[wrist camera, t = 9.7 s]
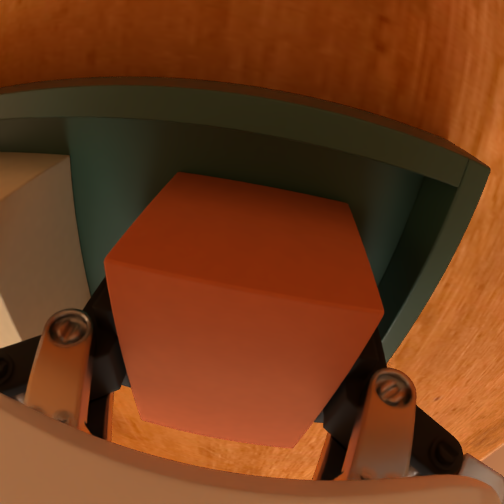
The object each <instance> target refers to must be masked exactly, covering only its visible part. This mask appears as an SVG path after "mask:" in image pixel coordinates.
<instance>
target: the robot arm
mask: <svg viewBox="0 0 504 504" xmlns="http://www.w3.org/2000/svg"><path fill="white" fill-rule="evenodd" d="M121 385H124V386H127V387H130V388H131V385H130V382H129V378H128V375H127V371H126V367H125V364H124V360H123V356H122V352H121V348H120V344H119V340H118V335H117V331H116V326H115V322H114V317H113V312H112V307H111V302H110V297H109V291H108V286H107V280H106V276H105V277H104V279H103V280H102V282H101V283H100V285H99V286H98V288H97V289H96V290H95V292H94V293H93V295H92V296H91V298H90V299H89V301H88V302H87V304H86V305H85V307H84V308H83V310H80V309H75V308H68V309H63V310H60V311H58V312H56V313H54V314H53V315H52V316H51V317H50V318H49V319H48V320H47V322H46V324H45V326H44V329H43V332H42V335H39V336H36V337H33V338H30V339H27V340H24V341H21V342H18V343H15V344H12V345H9V346H6V347H3V348H0V504H504V477H503V476H502V475H501V474H499V473H498V472H496V471H494V470H493V469H491V468H490V467H488V466H487V465H485V464H484V463H482V462H481V461H479V460H477V459H476V458H474V457H473V456H471V455H470V454H468V453H466V454H465V455H463V452H462V447H461V445H460V443H459V442H458V441H457V439H456V438H455V437H454V436H452V435H451V434H450V433H449V432H448V431H446V430H445V429H444V428H443V427H442V426H440V425H439V424H438V423H437V422H436V421H434V420H433V419H432V418H431V417H430V416H429V415H427V414H426V413H425V412H424V411H423V410H421V409H420V408H419V407H418V406H417V405H416V388H415V386H414V384H413V382H412V381H411V379H410V378H409V377H408V376H407V375H406V374H404V373H403V372H401V371H399V370H397V369H393V368H387V364H386V360H385V355H384V350H383V346H382V342H381V337H380V333H379V329H378V326H377V328H376V329H375V331H374V333H373V334H372V336H371V338H370V339H369V341H368V343H367V344H366V346H365V348H364V349H363V351H362V352H361V354H360V356H359V357H358V359H357V360H356V362H355V363H354V365H353V366H352V368H351V370H350V371H349V373H348V374H347V376H346V377H345V379H344V380H343V382H342V383H341V384H340V386H339V387H338V389H337V390H336V392H335V393H334V395H333V396H332V397H331V399H330V400H329V402H328V403H327V404H326V406H325V407H324V409H323V410H322V411H321V413H320V414H319V415H318V417H317V418H316V419H315V421H314V422H318V423H323V428H325V429H326V430H327V431H328V433H327V436H326V440H325V443H324V446H323V449H322V452H321V455H320V458H319V461H318V464H317V467H316V470H315V472H314V475H313V478H312V480H297V479H282V478H271V477H262V476H253V475H245V474H238V473H232V472H225V471H219V470H214V469H209V468H203V467H199V466H194V465H189V464H185V463H181V462H176V461H172V460H168V459H165V458H161V457H157V456H153V455H150V454H147V453H143V452H140V451H136V450H133V449H130V448H127V447H124V446H121V445H118V444H115V443H112V442H111V441H112V416H113V400H114V391H116V390H119V389H120V387H121Z"/></svg>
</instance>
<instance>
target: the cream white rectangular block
mask: <svg viewBox="0 0 504 504" xmlns="http://www.w3.org/2000/svg"><path fill="white" fill-rule="evenodd" d="M90 298H91V296H90V292H89V287H88V283H87V278H86V273H85V268H84V263H83V258H82V253H81V247H80V241H79V235H78V228H77V221H76V214H75V206H74V198H73V189H72V178H71V166H70V156H69V155H58V154H42V153H21V152H0V348H3V347H6V346H9V345H12V344H15V343H18V342H21V341H24V340H27V339H30V338H33V337H36V336H39V335H42V332H43V329H44V326H45V324H46V322H47V320H48V319H49V318H50V317H51V316H52V315H53V314H54V313H56V312H58V311H60V310H63V309H68V308H75V309H80V310H83V308H84V307H85V305H86V304H87V302H88V301H89V299H90Z"/></svg>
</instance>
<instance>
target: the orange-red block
mask: <svg viewBox="0 0 504 504" xmlns="http://www.w3.org/2000/svg"><path fill="white" fill-rule="evenodd" d="M104 267H105V274H106V280H107V286H108V291H109V297H110V302H111V307H112V312H113V317H114V322H115V326H116V331H117V335H118V340H119V344H120V348H121V352H122V356H123V360H124V364H125V367H126V371H127V375H128V378H129V382H130V385H131V389H132V392H133V395H134V399H135V402H136V405H137V408H138V411H139V415H140V418H141V420H143V421H147V422H150V423H154V424H158V425H161V426H165V427H169V428H173V429H177V430H181V431H185V432H190V433H194V434H199V435H204V436H209V437H214V438H219V439H224V440H230V441H236V442H243V443H249V444H257V445H264V446H273V447H283V448H293V447H294V446H295V445H296V444H297V442H298V441H299V440H300V439H301V437H302V436H303V435H304V434H305V432H306V431H307V430H308V429H309V427H310V426H311V425H312V423H313V422H314V421H315V419H316V418H317V417H318V415H319V414H320V413H321V411H322V410H323V409H324V407H325V406H326V404H327V403H328V402H329V400H330V399H331V397H332V396H333V395H334V393H335V392H336V390H337V389H338V387H339V386H340V384H341V383H342V382H343V380H344V379H345V377H346V376H347V374H348V373H349V371H350V370H351V368H352V366H353V365H354V363H355V362H356V360H357V359H358V357H359V356H360V354H361V352H362V351H363V349H364V348H365V346H366V344H367V343H368V341H369V339H370V338H371V336H372V334H373V333H374V331H375V329H376V328H377V326H378V324H379V322H380V321H381V319H382V317H383V315H384V308H383V305H382V301H381V298H380V295H379V291H378V288H377V285H376V282H375V279H374V275H373V272H372V269H371V266H370V263H369V260H368V257H367V254H366V251H365V248H364V246H363V243H362V240H361V237H360V234H359V231H358V229H357V226H356V223H355V221H354V218H353V215H352V213H351V210H350V207H349V205H348V204H347V203H344V202H340V201H336V200H331V199H327V198H322V197H317V196H313V195H308V194H303V193H298V192H293V191H288V190H283V189H278V188H273V187H268V186H263V185H257V184H252V183H246V182H241V181H235V180H229V179H223V178H217V177H211V176H204V175H198V174H191V173H185V172H177V174H176V175H175V176H174V177H173V178H172V179H171V180H170V181H169V182H168V183H167V184H166V186H165V187H164V188H163V189H162V190H161V191H160V192H159V193H158V195H157V196H156V197H155V198H154V199H153V200H152V201H151V203H150V204H149V205H148V206H147V207H146V208H145V209H144V211H143V212H142V213H141V214H140V215H139V216H138V218H137V219H136V220H135V221H134V222H133V224H132V225H131V226H130V227H129V228H128V230H127V231H126V232H125V233H124V235H123V236H122V237H121V238H120V239H119V241H118V242H117V243H116V244H115V246H114V247H113V248H112V250H111V251H110V252H109V253H108V255H107V256H106V257H105V259H104Z"/></svg>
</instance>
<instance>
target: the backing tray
mask: <svg viewBox="0 0 504 504" xmlns="http://www.w3.org/2000/svg"><path fill="white" fill-rule="evenodd" d="M0 152H21V153H42V154H58V155H69V156H70V166H71V178H72V189H73V198H74V206H75V214H76V221H77V228H78V235H79V241H80V247H81V253H82V258H83V263H84V268H85V273H86V278H87V283H88V287H89V292H90V296H92V295H93V293H94V292H95V290H96V289H97V288H98V286H99V285H100V283H101V282H102V280H103V279H104V277H105V276H106V274H105V267H104V259H105V257H106V256H107V255H108V253H109V252H110V251H111V250H112V248H113V247H114V246H115V244H116V243H117V242H118V241H119V239H120V238H121V237H122V236H123V235H124V233H125V232H126V231H127V230H128V228H129V227H130V226H131V225H132V224H133V222H134V221H135V220H136V219H137V218H138V216H139V215H140V214H141V213H142V212H143V211H144V209H145V208H146V207H147V206H148V205H149V204H150V203H151V201H152V200H153V199H154V198H155V197H156V196H157V195H158V193H159V192H160V191H161V190H162V189H163V188H164V187H165V186H166V184H167V183H168V182H169V181H170V180H171V179H172V178H173V177H174V176H175V175H176V174H177V172H185V173H191V174H198V175H204V176H211V177H217V178H223V179H229V180H235V181H241V182H246V183H252V184H257V185H263V186H268V187H273V188H278V189H283V190H288V191H293V192H298V193H303V194H308V195H313V196H317V197H322V198H327V199H331V200H336V201H340V202H344V203H347V204H348V205H349V207H350V210H351V213H352V215H353V218H354V221H355V223H356V226H357V229H358V231H359V234H360V237H361V240H362V243H363V246H364V248H365V251H366V254H367V257H368V260H369V263H370V266H371V269H372V272H373V275H374V279H375V282H376V285H377V288H378V291H379V295H380V298H381V301H382V305H383V308H384V315H383V317H382V319H381V321H380V322H379V324H378V329H379V333H380V337H381V342H382V346H383V350H384V355H385V360H386V364H387V362H388V361H389V359H390V358H391V357H392V355H393V354H394V352H395V351H396V350H397V348H398V347H399V345H400V344H401V342H402V341H403V339H404V338H405V337H406V335H407V334H408V332H409V331H410V329H411V327H412V326H413V324H414V323H415V321H416V320H417V318H418V317H419V315H420V313H421V312H422V310H423V309H424V307H425V305H426V304H427V302H428V300H429V299H430V297H431V295H432V294H433V292H434V290H435V288H436V287H437V285H438V283H439V281H440V280H441V278H442V276H443V274H444V272H445V271H446V269H447V267H448V265H449V263H450V261H451V259H452V257H453V255H454V253H455V251H456V249H457V247H458V245H459V243H460V241H461V239H462V237H463V235H464V233H465V231H466V229H467V227H468V224H469V222H470V220H471V218H472V216H473V213H474V211H475V209H476V206H477V204H478V202H479V199H480V197H481V194H482V192H483V189H484V187H485V184H486V182H487V179H488V176H489V174H490V170H491V169H490V168H489V167H488V166H487V165H486V164H484V163H483V162H481V161H480V160H478V159H477V158H475V157H474V156H472V155H471V154H469V153H468V152H466V151H464V150H463V149H461V148H460V147H458V146H456V145H455V144H453V143H452V142H450V141H448V140H446V139H444V138H441V137H439V136H436V135H434V134H431V133H428V132H426V131H423V130H420V129H418V128H415V127H412V126H409V125H407V124H404V123H401V122H398V121H395V120H392V119H389V118H386V117H383V116H379V115H376V114H373V113H370V112H366V111H363V110H359V109H356V108H352V107H349V106H345V105H341V104H337V103H333V102H329V101H325V100H321V99H317V98H312V97H308V96H303V95H298V94H294V93H289V92H283V91H278V90H272V89H267V88H261V87H254V86H248V85H240V84H233V83H225V82H216V81H206V80H195V79H182V78H165V77H91V78H74V79H61V80H51V81H42V82H34V83H27V84H20V85H14V86H8V87H2V88H0Z"/></svg>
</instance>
